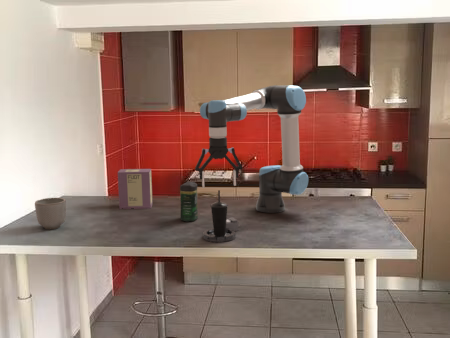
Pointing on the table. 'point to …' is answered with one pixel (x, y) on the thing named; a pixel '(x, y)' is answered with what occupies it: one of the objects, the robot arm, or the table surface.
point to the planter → (51, 212)
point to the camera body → (232, 224)
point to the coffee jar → (189, 201)
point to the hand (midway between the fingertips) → (219, 186)
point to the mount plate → (211, 237)
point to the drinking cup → (219, 216)
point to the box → (135, 188)
